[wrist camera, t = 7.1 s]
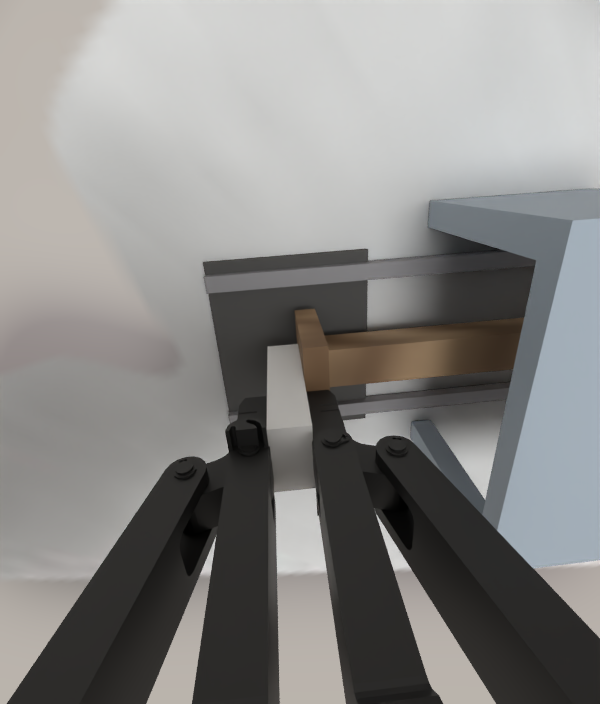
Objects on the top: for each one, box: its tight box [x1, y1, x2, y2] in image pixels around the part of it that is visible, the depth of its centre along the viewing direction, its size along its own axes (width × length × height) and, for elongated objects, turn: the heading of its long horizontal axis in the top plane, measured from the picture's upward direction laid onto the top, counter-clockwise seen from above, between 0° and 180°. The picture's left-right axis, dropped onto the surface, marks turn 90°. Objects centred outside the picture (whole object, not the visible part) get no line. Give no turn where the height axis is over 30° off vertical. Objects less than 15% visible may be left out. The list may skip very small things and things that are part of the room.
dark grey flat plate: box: [203, 249, 368, 420], centre depth 20 cm, size 8×10×1 cm
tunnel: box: [204, 189, 600, 568], centre depth 17 cm, size 28×14×9 cm, turn 94°
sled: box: [295, 309, 524, 392], centre depth 18 cm, size 24×6×6 cm, turn 94°
